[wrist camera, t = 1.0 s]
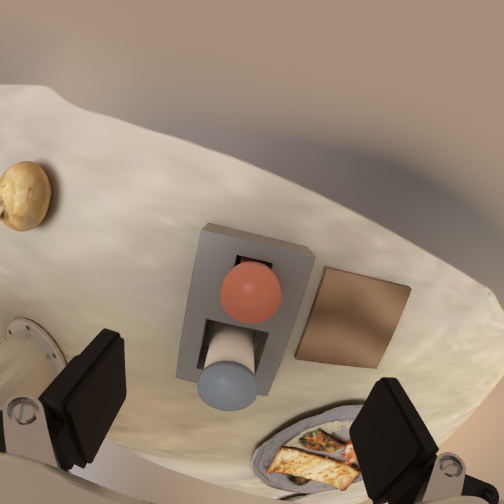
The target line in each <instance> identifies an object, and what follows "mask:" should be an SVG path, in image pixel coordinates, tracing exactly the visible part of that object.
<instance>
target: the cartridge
mask: <svg viewBox="0 0 504 504" xmlns="http://www.w3.org/2000/svg"><path fill="white" fill-rule="evenodd" d="M197 388H198V393H199V396H200V397H201V399H202V400H203V401H204V402H205V403H206V404H208V405H209V406H211V407H213V408H216V409H219V410H223V411H236V410H240V409H243V408H246V407H247V406H249V405H250V404H252V402H253V401H254V400H255V398H256V396H257V379H256V376H255V375H254V337H253V329H250V328H245V327H240V326H236V325H231V324H227V323H222V322H218V321H216V323H215V325H214V328H213V332H212V336H211V340H210V345H209V349H208V353H207V357H206V362H205V366H204V369H203V371H202V372H201V374H200V377H199V381H198V387H197Z"/></svg>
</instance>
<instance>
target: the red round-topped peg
mask: <svg viewBox="0 0 504 504" xmlns="http://www.w3.org/2000/svg"><path fill="white" fill-rule="evenodd" d="M281 298H282V292H281V287H280V284H279V281H278V278H277V276H276V274H275V273H274V272H273V271H272V270H271V269H270V268H269V267H267V266H266V264H265V261H262V260H257V259H253V258H249V257H245V256H242V257H241V261H240V264H238V265H236V266H234V267H233V268H232V269H231V270H229V272H228V273H227V274H226V276H225V278H224V280H223V283H222V287H221V292H220V299H221V303H222V306H223V308H224V310H225V311H226V312H227V314H228V315H229V316H231V317H232V318H233V319H235V320H237V321H239V322H243V323H248V324H253V323H259V322H263V321H265V320H267V319H268V318H270V317H271V316H272V315H273V314H274V313H275V312H276V311H277V309H278V308H279V306H280V303H281Z"/></svg>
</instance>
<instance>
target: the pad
mask: <svg viewBox="0 0 504 504" xmlns="http://www.w3.org/2000/svg"><path fill="white" fill-rule="evenodd" d="M411 290H412V289H411V288H410V287H409V286H404V285H400V284H396V283H392V282H388V281H384V280H380V279H375V278H371V277H367V276H363V275H359V274H355V273H351V272H346V271H342V270H338V269H334V268H330V267H325V268H324V271H323V275H322V278H321V281H320V284H319V287H318V290H317V293H316V296H315V299H314V302H313V305H312V308H311V311H310V314H309V317H308V320H307V322H306V325H305V328H304V331H303V334H302V336H301V339H300V342H299V344H298V347H297V350H296V352H295V355H294V356H295V359H298V360H305V361H312V362H319V363H327V364H335V365H343V366H353V367H363V368H375V369H377V367H378V365H379V363H380V361H381V359H382V357H383V355H384V353H385V351H386V348H387V346H388V344H389V342H390V340H391V338H392V336H393V333H394V331H395V329H396V327H397V324H398V322H399V320H400V317H401V315H402V312H403V310H404V308H405V305H406V303H407V300H408V297H409V295H410V292H411Z"/></svg>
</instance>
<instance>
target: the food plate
mask: <svg viewBox="0 0 504 504" xmlns="http://www.w3.org/2000/svg"><path fill="white" fill-rule="evenodd" d="M362 406H363V405H351V406H348V405H346V406H341V407H336V408H333V409H332V410H328V411H325V412H324V413H322V414H320V415H316V416H314V417H310V418H306V419H304V420H301V421H299V422H298V423H296V424H293V425H292V426H290V427H288V428H286V429H283V431H281V432H279V433H278V434H276V435H274V436H273V438H271V439H269V440H267V441H266V442H265V443H264V444H262V446H260V447H259V448H257V449H256V450H255V452H254V454H253V458H252V460H251V461H252V462H251V469H252V472H253V474H254V475H255V477H257V478H258V479H259V480H260V481H261V482H263V484H264V483H266V484H265V485H267V484H268V485H267V486H270V487H273V486H274V487H273V488H276V487H277V489H281V490H285V491H290V490H291V492H295V491H296V492H297V493H298V492H300V493H317V492H323V491H328V490H334V489H340V490H341V491H343V490H344V491H345V490H346V489H347V487H349V485H350V484H352V483H355V482H358V481H361V480H362V479H363V477H362V474H361V471H360V467H359V464H358V461H357V458H356V454H355V451H354V448H353V445H352V442H351V439H350V435H349V429H347V428H345V427H346V426H343V425H341V426H342V427H340V428H341V429H342V430H339V431H337V432H332V434H331V435H330V434H328V433H326V432H325V431H323V430H321V428H318V430H315V431H313V432H307V433H306V434H304V435H303V437H301V438H300V440H299V441H298V442H299V443H301V445H302V446H303V447H305V448H308V449H302V448H297V447H291V446H290V447H287V446H284V445H285V444H287V443H288V442H289V441H291V440H292V439H293V438H295V437H296V436H297V435H299V434H300V433H301V432H303V431H305V430H307V429H310V428H312V427H315V426H317V425H322V424H325V423H328V422H332V423H333V422H334V421H338V422H341V423H342V422H347V420H349V422H348V423H350V421H354V420H355V418H356V417H357V415H358V413H359V412H360V410H361V408H362ZM351 423H353V422H351ZM343 427H344V428H343ZM309 449H312V450H309ZM314 450H315V451H314Z"/></svg>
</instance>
